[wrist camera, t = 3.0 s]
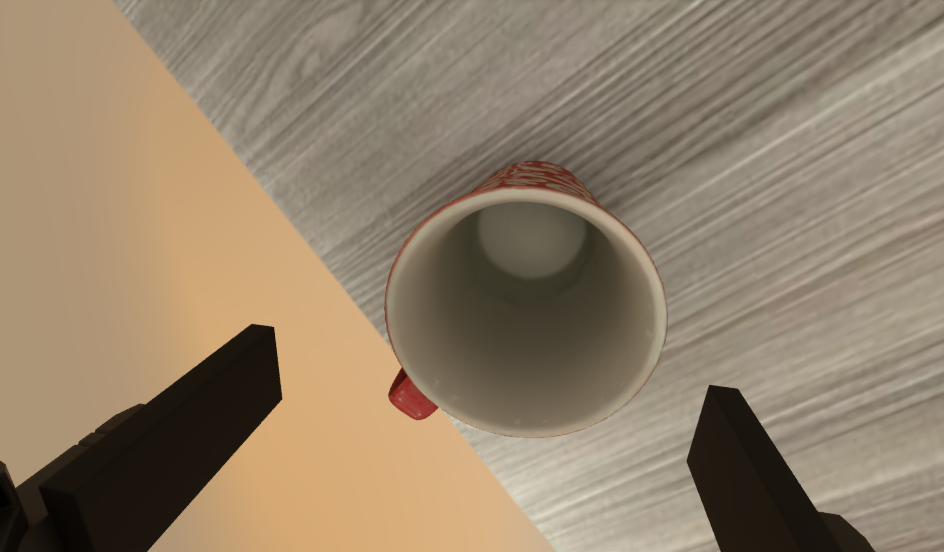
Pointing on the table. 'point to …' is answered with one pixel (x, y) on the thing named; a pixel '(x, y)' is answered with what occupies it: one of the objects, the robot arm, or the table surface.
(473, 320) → the mug
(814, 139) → the table surface
